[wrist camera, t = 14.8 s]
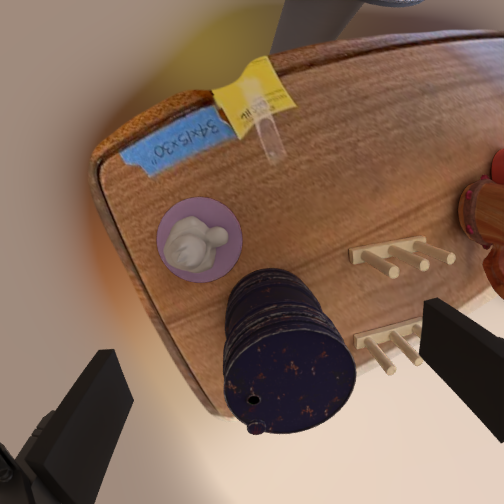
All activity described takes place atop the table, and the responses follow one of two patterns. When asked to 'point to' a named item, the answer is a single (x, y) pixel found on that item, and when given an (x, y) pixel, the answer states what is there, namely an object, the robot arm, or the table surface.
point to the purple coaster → (211, 216)
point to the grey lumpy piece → (193, 245)
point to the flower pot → (498, 167)
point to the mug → (486, 225)
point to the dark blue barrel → (282, 356)
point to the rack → (403, 252)
